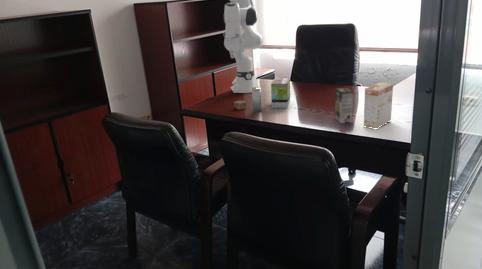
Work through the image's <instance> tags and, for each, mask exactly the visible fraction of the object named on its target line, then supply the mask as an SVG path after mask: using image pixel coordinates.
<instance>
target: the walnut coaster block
mask: <svg viewBox="0 0 482 269" xmlns="http://www.w3.org/2000/svg"><path fill="white" fill-rule="evenodd" d="M233 104H234V106H233V107H234V110H235V109H236V110H238V111H241V110H245V109H247V101H244V100H237V101H234V102H233Z"/></svg>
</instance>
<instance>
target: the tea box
mask: <svg viewBox="0 0 482 269" xmlns="http://www.w3.org/2000/svg"><path fill="white" fill-rule="evenodd" d="M270 87H271V88H270V93H271V99H270V100H271V104H270V106H271V108H275V109H283V108H284V109H287V108H288V107H289V105H290V102H291V79H290V78H287V77H286V78H283V77H281V78H280V77H279V78H273V80H272V82H271V84H270Z"/></svg>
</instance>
